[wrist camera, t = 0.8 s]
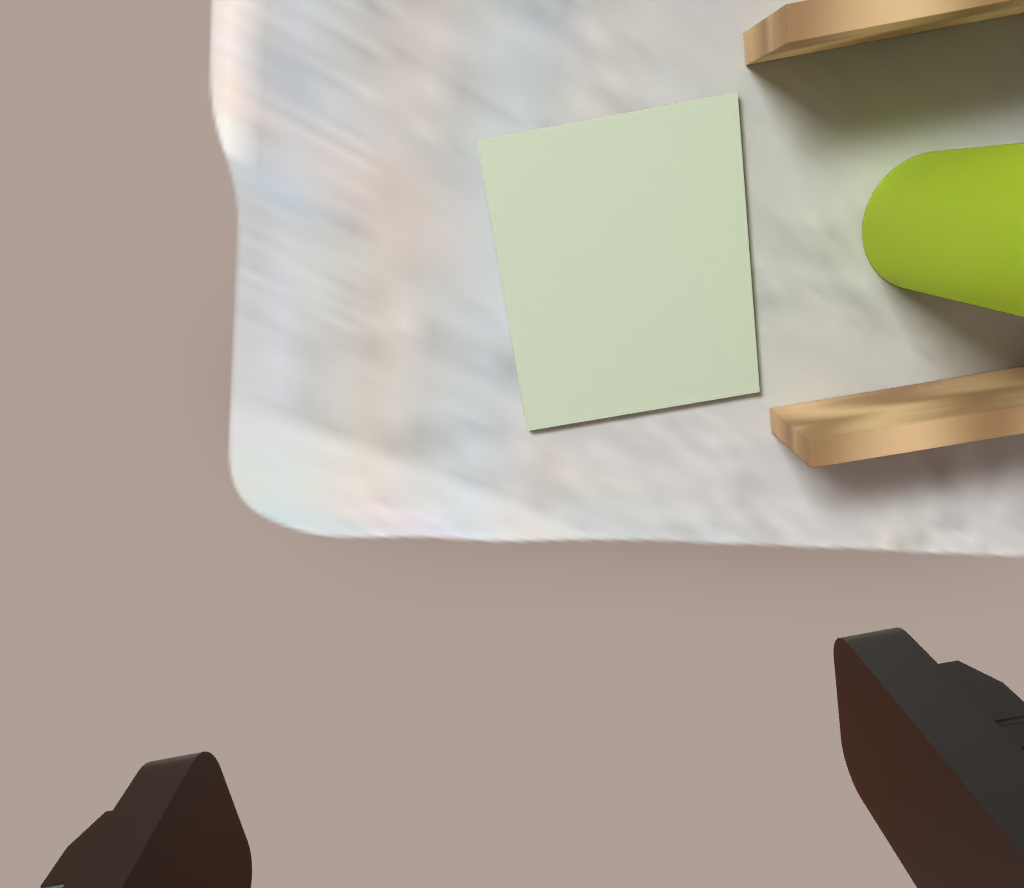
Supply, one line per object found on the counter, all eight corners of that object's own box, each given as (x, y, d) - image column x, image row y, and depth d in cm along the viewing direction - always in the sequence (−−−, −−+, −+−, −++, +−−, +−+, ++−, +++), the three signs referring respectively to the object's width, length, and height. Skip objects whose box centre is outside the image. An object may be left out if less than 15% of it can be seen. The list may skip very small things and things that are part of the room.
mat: (527, 428, 36) (527, 430, 36) (476, 141, 32) (476, 140, 32) (756, 389, 36) (759, 391, 36) (734, 92, 32) (737, 91, 32)
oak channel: (771, 432, 37) (810, 467, 32) (743, 33, 31) (785, 4, 26) (1068, 383, 36) (1154, 412, 31) (1092, -34, 31) (1200, -75, 26)
